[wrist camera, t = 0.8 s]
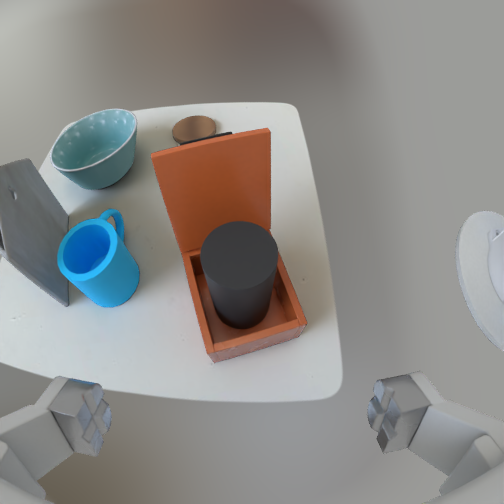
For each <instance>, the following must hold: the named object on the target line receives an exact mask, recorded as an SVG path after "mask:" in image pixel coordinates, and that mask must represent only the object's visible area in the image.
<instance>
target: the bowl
mask: <svg viewBox="0 0 504 504" xmlns="http://www.w3.org/2000/svg"><path fill="white" fill-rule="evenodd" d="M136 132H137V119H136V117H135V115H134V114H133V113H132V112H130V111H128V110H124V109H108V110H103V111H99V112H96V113H93V114H91V115H88V116H86V117H84V118H83V119H81V120H79V121H77V122H76V123H74V124H73V125H71V126H70V127H69V128H68V129H67V130H65V131H64V132H63V133H62V134H61V136H60V137H59V138H58V139H57V141H56V142H55V144H54V146H53V148H52V150H51V155H50V160H51V163H52V165H53V166H54V167H55V168H56V169H57V170H58V171H60V172H61V173H62V174H63V175H65V176H66V177H67V178H69V179H70V180H72V181H73V182H75V183H76V184H77V185H79V186H80V187H82V188H85V189H90V190H95V189H101V188H105V187H108V186H110V185H112V184H114V183H115V182H117V181H118V180H120V179H121V178H122V177H123V176H124V175H125V174H126V173H127V172H128V170H129V169H130V167H131V165H132V163H133V160H134V153H135V144H136Z"/></svg>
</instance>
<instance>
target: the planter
mask: <svg viewBox="0 0 504 504" xmlns="http://www.w3.org/2000/svg"><path fill="white" fill-rule="evenodd" d="M67 233H68V215H67V213H66V212H65V210H64V209H63V208H62V206H61V205H60V203H59V202H58V200H57V199H56V198H55V196H54V195H53V193H52V192H51V190H50V189H49V187H48V186H47V184H46V183H45V181H44V180H43V178H42V177H41V175H40V174H39V172H38V171H37V169H36V168H35V166H34V165H33V163H32V162H31V160H30V159H28V158H26V159H22V160H18V161H14V162H11V163H8V164H5V165H2V166H0V253H1V255H2V256H3V257H4V258H5V259H6V260H7V261H8V262H9V263H11V264H12V265H13V266H14V267H15V268H16V269H17V270H19V271H20V272H21V273H22V274H23V275H25V276H26V277H27V278H28V279H30V280H31V281H32V282H33V283H35V284H36V285H37V286H38V287H40V288H41V289H42V290H44V291H45V292H46V293H48V294H49V295H50V296H52V297H53V298H54V299H56V300H57V301H58V302H60V303H61V304H63V305H64V306H66V307H67V306H68V304H69V300H68V281H67V278H66V277H65V276H64V275H63V274H62V273H61V272H60V269H59V267H58V263H57V254H58V250H59V246H60V244H61V242H62V240H63V238H64V236H65V235H66V234H67Z"/></svg>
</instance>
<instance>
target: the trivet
mask: <svg viewBox="0 0 504 504" xmlns="http://www.w3.org/2000/svg"><path fill="white" fill-rule="evenodd" d="M172 132H173V137H174V139H175V140H176V141H177V142H178V143H181V142H186V141H190V140H194V139H198V138H203V137H207V136H212V135H214V134H215V132H216V125H215V122H214V121H213V120H212V119H211V118H209V117H206V116H191V117H187V118H185V119H182V120H181V121H179V122H178V123H177V124H176V125H175V126H174V127H173V131H172Z"/></svg>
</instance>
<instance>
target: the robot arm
mask: <svg viewBox="0 0 504 504" xmlns="http://www.w3.org/2000/svg"><path fill="white" fill-rule="evenodd" d="M488 241H489V252H488V269H489V274H490V277H491V281H492V283H493V286H494V288H495V290H496V292H497V294H498V296H499V298H500V299H501V301H502V302H503V303H504V228H499V229H491V230H490V231H489V232H488ZM373 392H374V393H375V396H374V397H373V398H372V399H371V400H370V402H369V406H368V420H369V424H370V425H371V428H372V429H373V430H375V431H377V432H378V436H377V441H378V443H379V445H380V447H381V449H382V452H383V454H384V453H389V452H393V451H397V450H401V449H404V448H408V449H409V450H410V451H412V452H413V453H415V454H416V455H418V456H419V457H421V458H422V459H423V460H425V461H427V462H428V463H429V464H431V465H433V466H434V467H435V468H437V469H439V470H440V471H442V472H443V473H445V474H446V475H448V476H449V477H448V478H447V479H446V481H445V482H444V483H443V484H442V485H441V487H440V489H439V491H440V493H441V496H439V497H436V498H435V499H432V500H429V501H427V502H425V503H422V504H504V421H503V420H500V419H497V418H495V417H492V416H490V415H487V414H484V413H482V412H479V411H477V410H474V409H472V408H469V407H467V406H464V405H462V404H459V403H456V402H454V401H452V400H447V401H446V400H445V399H444V398H443V397H442V395H441V394H440V393H439V391H437V389H436V388H435V387H434V385H433V384H432V383H431V382H430V380H429V379H428V378H427V377H426V376H425V374H424V373H423V372H420V371H417V372H413V373H409V374H406V375H401V376H397V377H391V378H386V379H381V380H377V381H376V383H375V385H374V388H373ZM103 395H104V392H103V389H102V386H101V385H99V384H98V383H92V382H87V381H82V380H77V379H72V378H66V377H62V376H58V377H55V379H54V380H53V381H52V383H51V384H50V385H49V387H48V388H47V389H46V390H45V392H44V393H43V394H42V396H41V397H40V398H39V400H38V401H37V402H36V404H35V405H28V406H26V407H24V408H22V409H20V410H17V411H15V412H13V413H11V414H9V415H6V416H4V417H2V418H0V504H55V503H52V502H50V501H48V500H45V499H44V498H45V496H46V493H45V491H44V489H43V488H42V487H41V486H40V485H39V483H38V482H37V480H38V479H39V478H41V477H42V476H44V475H45V474H46V473H48V472H49V471H50V470H52V469H53V468H54V467H56V466H57V465H58V464H60V463H61V462H62V461H64V460H65V459H66V458H68V457H69V456H70V455H72V454H73V453H74V451H75V452H79V453H83V454H87V455H92V456H98V454H99V451H100V449H101V447H102V444H103V439H102V435H104V434H105V433H107V432H108V431H109V428H110V426H111V410H110V407H109V405H108V403H106V402H105V401H104V400H103V399H102V397H103Z"/></svg>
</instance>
